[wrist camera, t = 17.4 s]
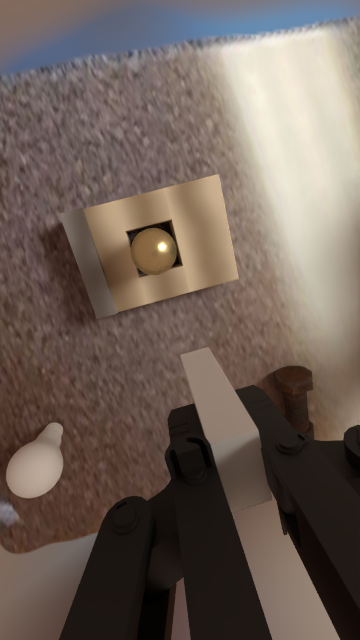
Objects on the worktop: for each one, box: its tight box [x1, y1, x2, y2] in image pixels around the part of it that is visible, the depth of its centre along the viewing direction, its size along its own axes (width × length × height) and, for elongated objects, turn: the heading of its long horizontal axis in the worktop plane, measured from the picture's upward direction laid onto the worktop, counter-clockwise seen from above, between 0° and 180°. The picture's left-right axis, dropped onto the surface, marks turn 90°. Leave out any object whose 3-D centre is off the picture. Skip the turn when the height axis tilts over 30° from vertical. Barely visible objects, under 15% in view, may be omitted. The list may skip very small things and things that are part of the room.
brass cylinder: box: [131, 228, 177, 275], centre depth 31 cm, size 4×4×11 cm
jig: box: [59, 174, 239, 319], centre depth 34 cm, size 18×12×5 cm, turn 104°
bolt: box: [275, 366, 314, 440], centre depth 43 cm, size 6×5×15 cm
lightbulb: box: [6, 423, 63, 498], centre depth 36 cm, size 6×6×11 cm
